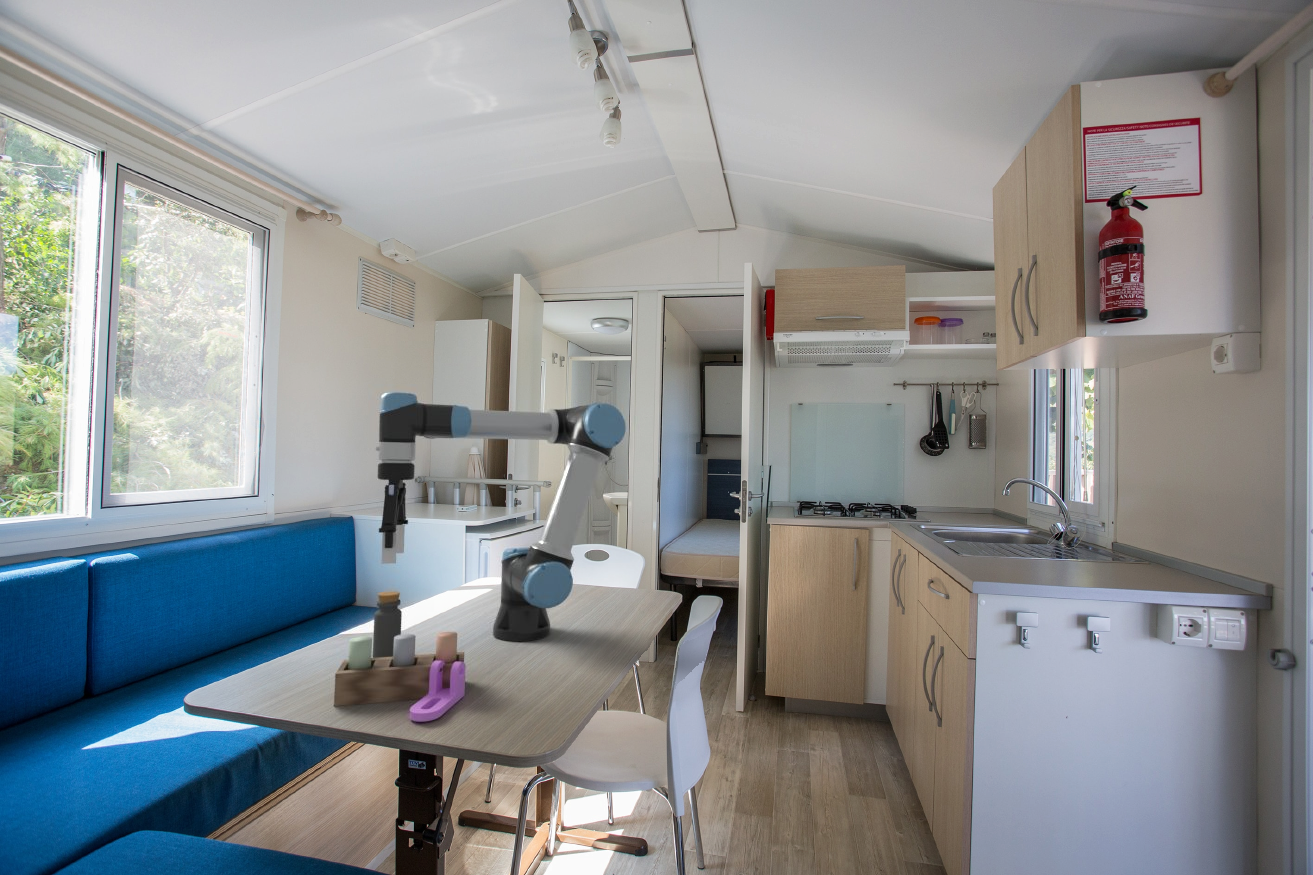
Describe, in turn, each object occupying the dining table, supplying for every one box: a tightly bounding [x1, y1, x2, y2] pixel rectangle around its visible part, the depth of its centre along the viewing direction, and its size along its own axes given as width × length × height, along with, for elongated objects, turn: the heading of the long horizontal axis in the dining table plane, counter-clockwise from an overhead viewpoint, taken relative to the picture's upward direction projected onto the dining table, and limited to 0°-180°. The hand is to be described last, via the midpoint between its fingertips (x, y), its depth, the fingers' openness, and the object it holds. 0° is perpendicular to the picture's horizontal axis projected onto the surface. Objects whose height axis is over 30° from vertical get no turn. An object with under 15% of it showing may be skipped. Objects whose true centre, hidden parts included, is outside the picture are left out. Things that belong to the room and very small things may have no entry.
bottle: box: [372, 590, 403, 658], centre depth 139 cm, size 6×6×15 cm
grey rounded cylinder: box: [393, 633, 417, 667], centre depth 119 cm, size 4×4×6 cm
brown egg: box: [435, 631, 458, 663], centre depth 122 cm, size 4×4×6 cm
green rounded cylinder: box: [348, 635, 373, 670], centre depth 117 cm, size 4×4×6 cm
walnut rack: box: [333, 651, 465, 707], centre depth 119 cm, size 23×8×6 cm, turn 107°
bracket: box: [409, 660, 466, 722], centre depth 112 cm, size 13×6×7 cm, turn 174°
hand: (393, 558), depth 132 cm, fingers open, 13 cm apart
